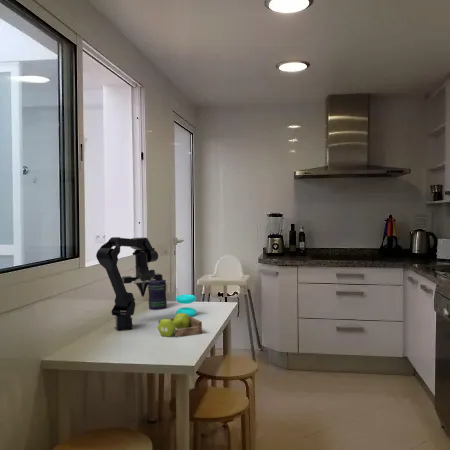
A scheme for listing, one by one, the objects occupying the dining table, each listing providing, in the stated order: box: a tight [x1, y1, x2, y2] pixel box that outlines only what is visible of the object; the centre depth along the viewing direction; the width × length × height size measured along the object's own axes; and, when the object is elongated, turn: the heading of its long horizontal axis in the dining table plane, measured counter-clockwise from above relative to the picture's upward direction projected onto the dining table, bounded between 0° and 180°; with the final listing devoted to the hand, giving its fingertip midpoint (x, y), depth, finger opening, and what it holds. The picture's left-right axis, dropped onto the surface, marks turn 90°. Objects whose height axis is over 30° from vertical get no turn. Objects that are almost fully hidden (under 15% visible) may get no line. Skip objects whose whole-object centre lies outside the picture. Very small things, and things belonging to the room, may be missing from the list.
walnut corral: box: [158, 316, 203, 338], centre depth 218 cm, size 12×22×5 cm, turn 26°
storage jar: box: [147, 279, 168, 311], centre depth 271 cm, size 10×10×15 cm
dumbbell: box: [157, 313, 190, 338], centre depth 214 cm, size 16×8×7 cm, turn 154°
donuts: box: [175, 293, 197, 317], centre depth 250 cm, size 10×10×10 cm
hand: (142, 296), depth 237 cm, fingers closed
